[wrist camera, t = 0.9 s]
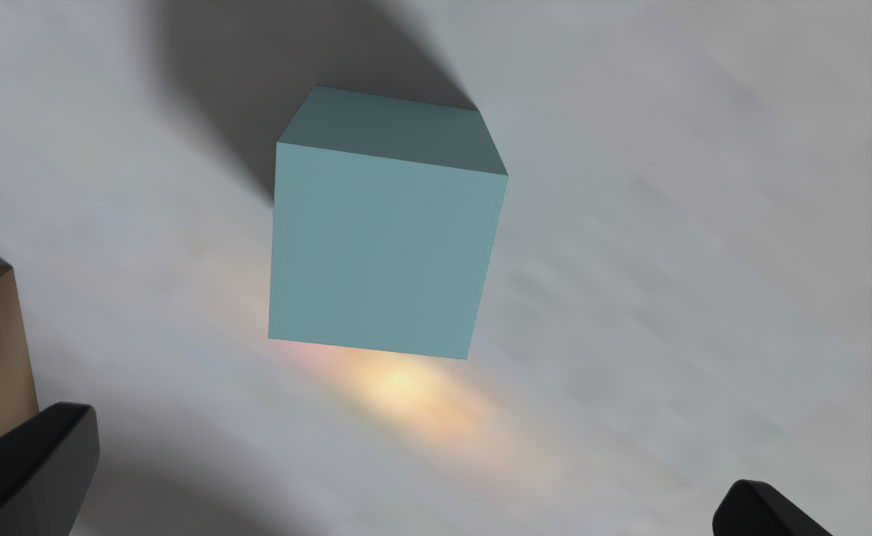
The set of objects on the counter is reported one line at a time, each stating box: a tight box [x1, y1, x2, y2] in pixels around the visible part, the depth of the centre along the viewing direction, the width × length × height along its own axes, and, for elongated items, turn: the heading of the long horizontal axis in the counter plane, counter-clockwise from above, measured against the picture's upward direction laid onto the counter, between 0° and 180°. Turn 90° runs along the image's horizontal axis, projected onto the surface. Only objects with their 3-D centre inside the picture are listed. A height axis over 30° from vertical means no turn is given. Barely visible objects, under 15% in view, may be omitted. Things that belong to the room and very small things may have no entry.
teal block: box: [268, 86, 508, 360], centre depth 17 cm, size 5×5×6 cm
